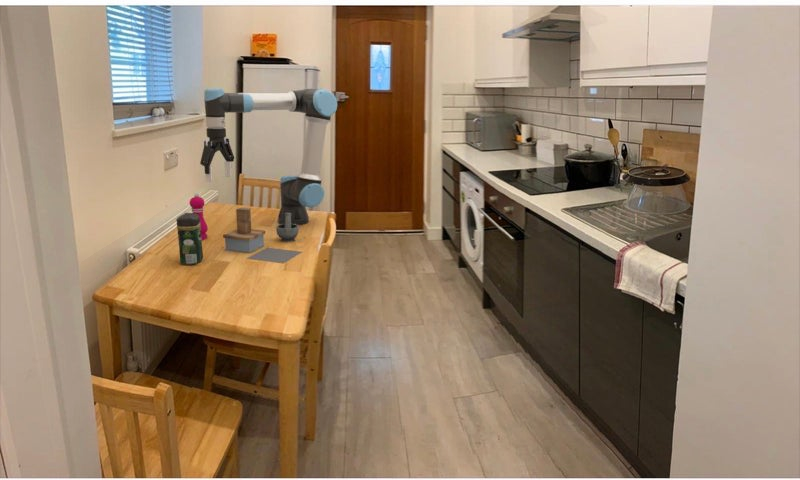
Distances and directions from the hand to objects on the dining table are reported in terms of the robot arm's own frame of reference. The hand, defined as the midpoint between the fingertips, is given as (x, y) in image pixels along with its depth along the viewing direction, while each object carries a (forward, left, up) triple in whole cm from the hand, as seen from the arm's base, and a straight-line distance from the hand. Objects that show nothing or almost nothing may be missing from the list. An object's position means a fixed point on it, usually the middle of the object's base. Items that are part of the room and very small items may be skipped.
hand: (219, 179), depth 227 cm
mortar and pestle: (-10, +26, -27) cm, 39 cm away
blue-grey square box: (+8, +16, -27) cm, 32 cm away
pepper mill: (+1, -11, -27) cm, 29 cm away
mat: (+12, +32, -27) cm, 43 cm away
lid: (+8, +16, -21) cm, 27 cm away
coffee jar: (+29, +6, -27) cm, 40 cm away
